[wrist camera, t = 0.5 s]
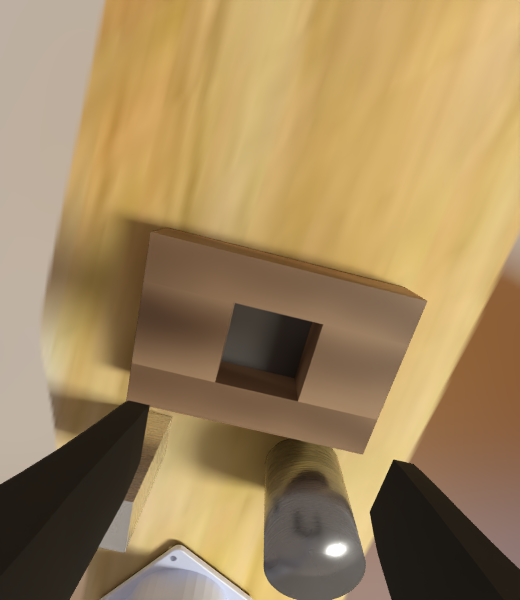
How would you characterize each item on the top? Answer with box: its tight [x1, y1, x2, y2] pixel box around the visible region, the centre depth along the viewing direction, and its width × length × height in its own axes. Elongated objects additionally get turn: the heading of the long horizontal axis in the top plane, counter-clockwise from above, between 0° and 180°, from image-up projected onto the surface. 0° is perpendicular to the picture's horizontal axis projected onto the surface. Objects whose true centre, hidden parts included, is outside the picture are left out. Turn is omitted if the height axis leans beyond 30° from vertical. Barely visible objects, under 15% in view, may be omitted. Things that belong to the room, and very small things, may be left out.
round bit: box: [264, 438, 366, 600], centre depth 18 cm, size 5×5×6 cm
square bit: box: [99, 412, 172, 553], centre depth 18 cm, size 3×3×6 cm
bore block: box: [126, 228, 427, 454], centre depth 17 cm, size 9×13×2 cm
